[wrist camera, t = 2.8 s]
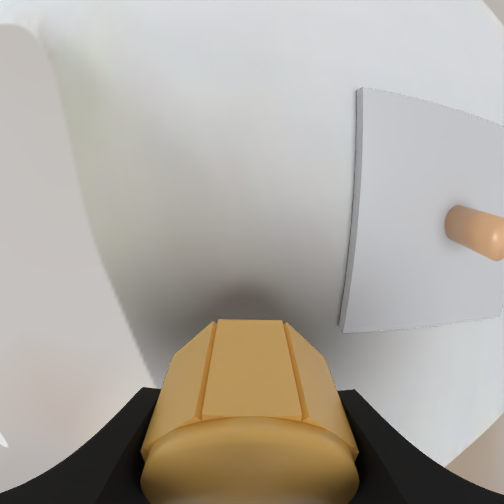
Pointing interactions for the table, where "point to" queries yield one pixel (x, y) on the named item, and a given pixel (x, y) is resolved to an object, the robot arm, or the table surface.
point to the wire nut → (249, 422)
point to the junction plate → (424, 216)
